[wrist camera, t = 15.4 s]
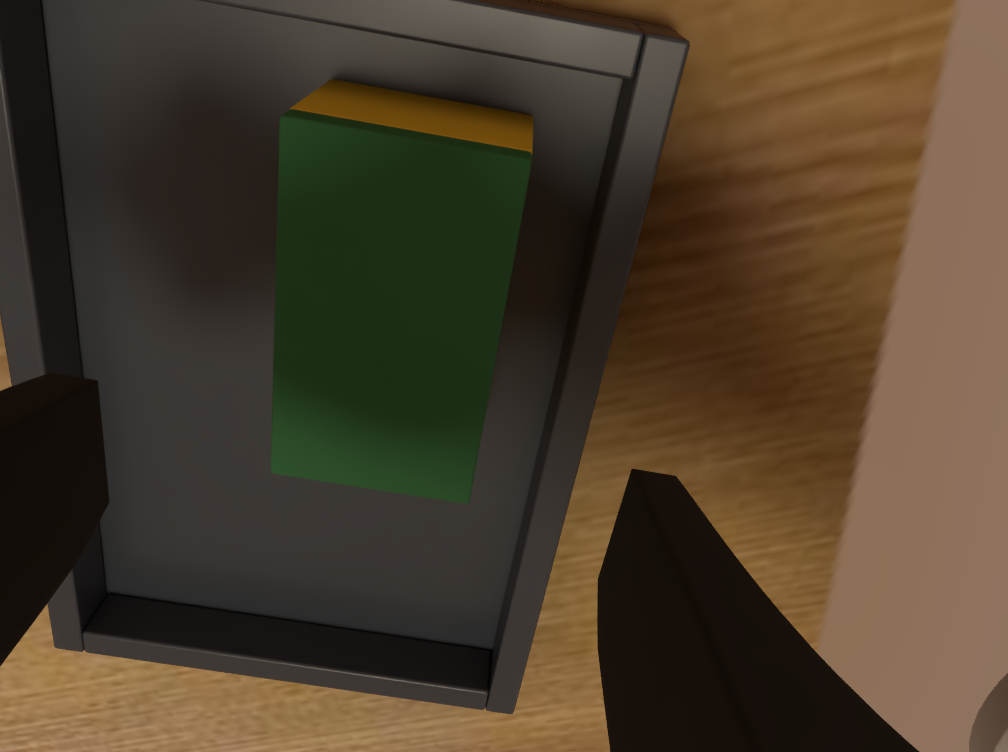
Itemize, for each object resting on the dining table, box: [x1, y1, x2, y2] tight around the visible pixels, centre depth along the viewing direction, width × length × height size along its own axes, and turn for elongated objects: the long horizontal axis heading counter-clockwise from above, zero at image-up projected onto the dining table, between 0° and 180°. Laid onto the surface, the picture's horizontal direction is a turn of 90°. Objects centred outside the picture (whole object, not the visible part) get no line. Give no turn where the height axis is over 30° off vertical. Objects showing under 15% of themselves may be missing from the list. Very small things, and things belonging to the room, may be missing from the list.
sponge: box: [271, 79, 534, 504], centre depth 16 cm, size 7×4×4 cm, turn 170°
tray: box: [0, 0, 690, 714], centre depth 18 cm, size 13×18×2 cm
